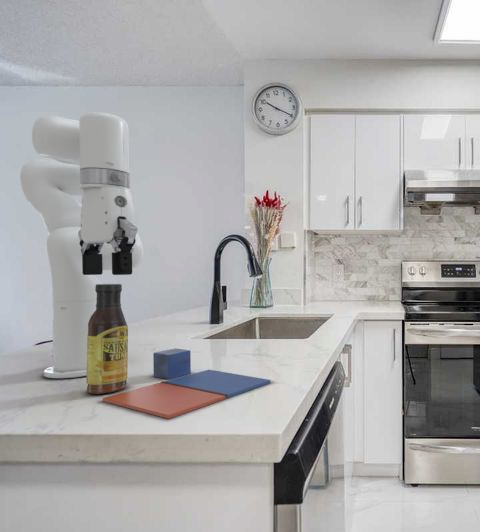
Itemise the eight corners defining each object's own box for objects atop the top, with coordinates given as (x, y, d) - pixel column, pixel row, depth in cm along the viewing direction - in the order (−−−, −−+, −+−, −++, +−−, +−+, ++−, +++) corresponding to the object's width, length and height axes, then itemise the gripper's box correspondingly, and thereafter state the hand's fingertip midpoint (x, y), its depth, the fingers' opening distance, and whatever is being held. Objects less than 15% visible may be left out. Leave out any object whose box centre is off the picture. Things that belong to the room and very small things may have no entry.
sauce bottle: (106, 396, 74) (105, 284, 74) (77, 394, 75) (76, 284, 75) (136, 385, 80) (135, 283, 80) (109, 384, 81) (108, 282, 81)
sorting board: (102, 401, 71) (102, 397, 71) (208, 372, 90) (208, 368, 90) (168, 419, 63) (168, 414, 63) (270, 382, 82) (270, 379, 82)
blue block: (153, 376, 87) (153, 352, 87) (175, 370, 91) (175, 348, 91) (168, 379, 84) (168, 355, 84) (190, 373, 89) (190, 350, 89)
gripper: (154, 181, 76) (155, 274, 77) (101, 190, 84) (103, 274, 84) (110, 173, 70) (111, 275, 70) (57, 184, 78) (59, 275, 78)
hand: (107, 274), depth 77 cm, fingers open, 9 cm apart
